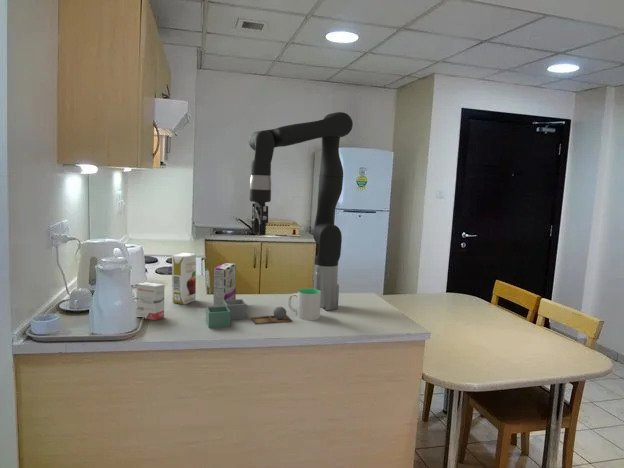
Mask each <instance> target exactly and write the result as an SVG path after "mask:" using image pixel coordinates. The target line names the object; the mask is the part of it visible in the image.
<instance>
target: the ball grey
mask: <svg viewBox="0 0 624 468" xmlns="http://www.w3.org/2000/svg"><path fill="white" fill-rule="evenodd" d="M272 313H273V315H274V317H275V318H276V319H278V320H281V319H284V318H285V316H286V315H287V310H286V309H285V307H283V306H277V307H275V308H274V310H273V312H272Z"/></svg>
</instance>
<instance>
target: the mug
mask: <svg viewBox="0 0 624 468" xmlns="http://www.w3.org/2000/svg"><path fill="white" fill-rule="evenodd" d="M320 296H321V291H320V290H317V289H314V288H301V289H298V291H297V293H296V292H295V293H292V294H290V295H289V297H288V301H287V302H288V307H289V310H291V312H293V313H295V314H296V315H297V319H299V320H303V321H316V320H319V319H320V316H321V308H320ZM293 297H296V298H297V308H296V309H295V308H294V307H293V305H292V298H293Z"/></svg>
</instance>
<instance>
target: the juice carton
mask: <svg viewBox="0 0 624 468" xmlns="http://www.w3.org/2000/svg"><path fill="white" fill-rule="evenodd" d="M196 280H197V257H196V253H192V252H191V253H190V252H181V253H179V254H178V253H177V254H172V255H171V302H172V303H174V304H179V305H187V304H190V303H192V302H193V303H194V302H195V301H196V298H197V297H196V294H197V290H196V289H197V286H196V284H197V283H196V282H197V281H196Z"/></svg>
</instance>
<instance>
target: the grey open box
mask: <svg viewBox="0 0 624 468" xmlns="http://www.w3.org/2000/svg"><path fill="white" fill-rule="evenodd" d="M223 306H227V307H228V309H229V310H230V320H239V319H241V320H243V319H247V303H246V302H245V300H244V299H243V298H240V299H238V298H237V299H236V300H223Z"/></svg>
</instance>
